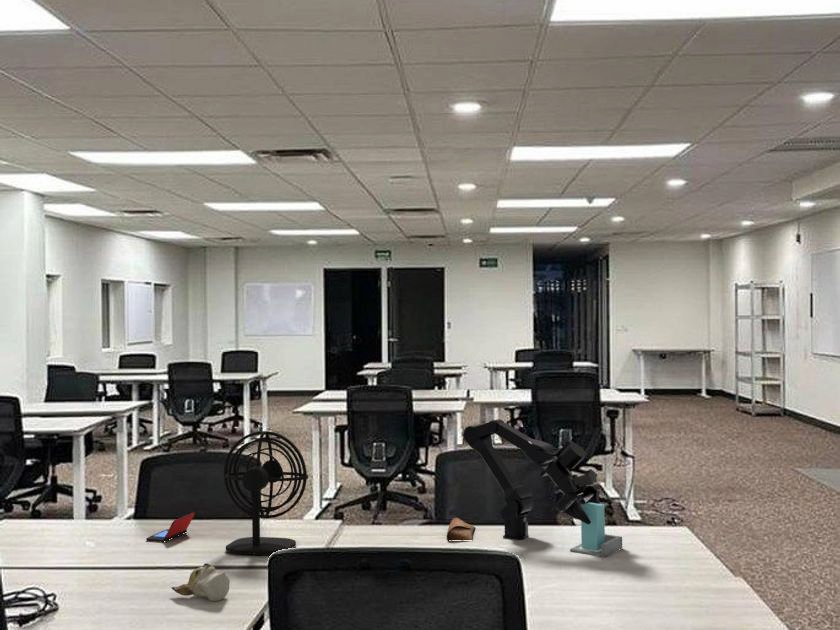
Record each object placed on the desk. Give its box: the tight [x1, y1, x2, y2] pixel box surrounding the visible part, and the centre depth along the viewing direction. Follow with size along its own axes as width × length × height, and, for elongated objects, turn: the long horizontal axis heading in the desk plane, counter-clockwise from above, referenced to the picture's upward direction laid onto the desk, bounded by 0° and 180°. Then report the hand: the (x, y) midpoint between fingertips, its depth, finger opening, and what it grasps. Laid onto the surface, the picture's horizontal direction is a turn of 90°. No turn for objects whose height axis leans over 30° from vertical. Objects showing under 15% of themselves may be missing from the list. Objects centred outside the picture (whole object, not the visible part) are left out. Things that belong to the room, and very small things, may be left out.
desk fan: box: [223, 430, 309, 556], centre depth 258 cm, size 27×18×35 cm, turn 78°
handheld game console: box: [145, 511, 196, 543], centre depth 273 cm, size 12×11×7 cm
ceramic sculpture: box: [171, 562, 230, 602], centre depth 214 cm, size 11×9×15 cm
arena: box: [569, 533, 623, 558], centre depth 251 cm, size 11×11×4 cm
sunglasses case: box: [446, 517, 476, 541], centre depth 271 cm, size 18×7×7 cm
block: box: [580, 503, 606, 551], centre depth 251 cm, size 5×5×12 cm
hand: (597, 520), depth 250 cm, fingers open, 9 cm apart
